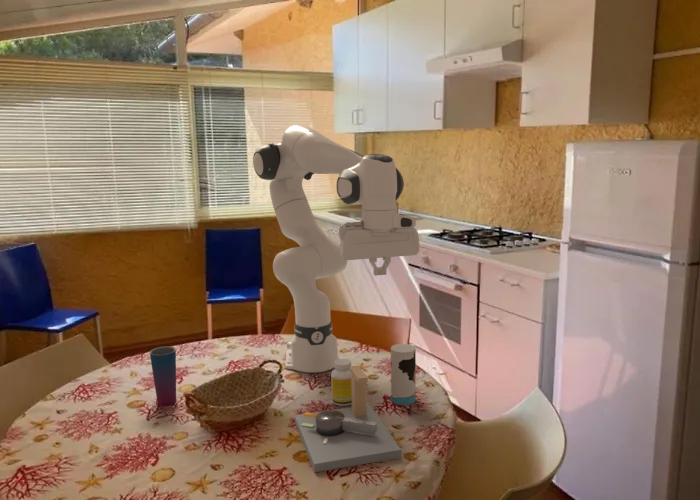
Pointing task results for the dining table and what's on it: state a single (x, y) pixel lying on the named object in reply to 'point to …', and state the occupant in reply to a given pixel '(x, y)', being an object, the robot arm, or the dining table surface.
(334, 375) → the pill bottle
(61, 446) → the dining table surface
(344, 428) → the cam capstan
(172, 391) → the cup
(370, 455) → the stand base
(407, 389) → the cup
